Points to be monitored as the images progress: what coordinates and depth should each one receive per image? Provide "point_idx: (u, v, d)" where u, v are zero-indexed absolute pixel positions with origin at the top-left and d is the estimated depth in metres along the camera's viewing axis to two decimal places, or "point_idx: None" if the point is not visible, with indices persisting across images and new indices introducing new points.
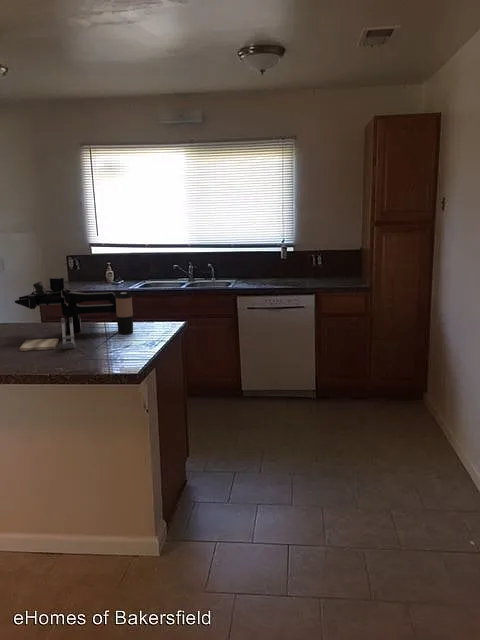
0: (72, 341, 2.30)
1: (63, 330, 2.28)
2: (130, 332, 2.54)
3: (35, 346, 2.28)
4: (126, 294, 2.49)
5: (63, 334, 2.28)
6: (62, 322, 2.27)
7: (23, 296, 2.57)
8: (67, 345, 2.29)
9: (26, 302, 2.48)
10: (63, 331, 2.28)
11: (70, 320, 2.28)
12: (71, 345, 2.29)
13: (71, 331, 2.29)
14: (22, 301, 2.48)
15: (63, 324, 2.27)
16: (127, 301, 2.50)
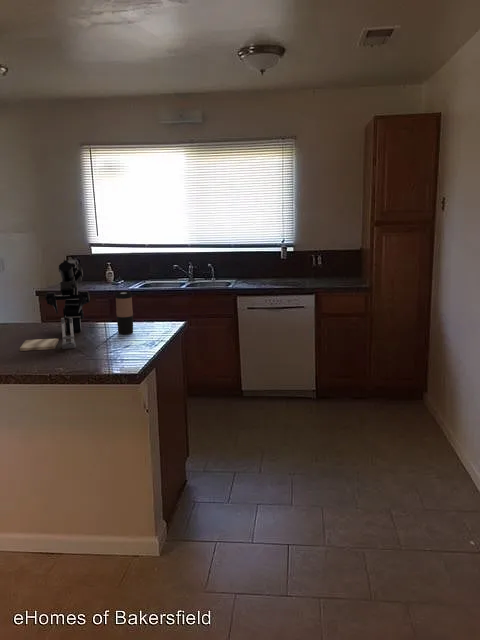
0: (72, 341, 2.30)
1: (63, 330, 2.28)
2: (130, 332, 2.54)
3: (35, 346, 2.28)
4: (126, 294, 2.49)
5: (63, 334, 2.28)
6: (62, 322, 2.27)
7: (56, 308, 2.35)
8: (67, 345, 2.29)
9: None
10: (63, 331, 2.28)
11: (70, 320, 2.28)
12: (71, 345, 2.29)
13: (71, 331, 2.29)
14: (81, 305, 2.39)
15: (63, 324, 2.28)
16: (127, 301, 2.50)
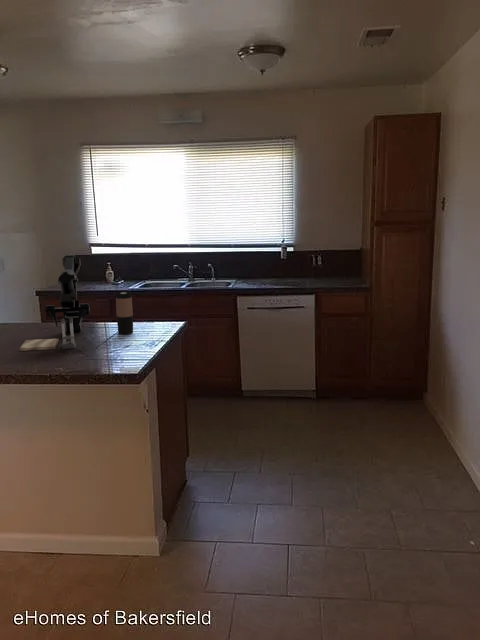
0: (72, 341, 2.30)
1: (63, 330, 2.28)
2: (130, 332, 2.54)
3: (35, 346, 2.28)
4: (126, 294, 2.49)
5: (63, 334, 2.28)
6: (62, 322, 2.27)
7: (56, 321, 2.30)
8: (67, 345, 2.29)
9: None
10: (63, 331, 2.28)
11: (70, 320, 2.28)
12: (71, 345, 2.29)
13: (71, 331, 2.29)
14: (81, 318, 2.34)
15: (63, 324, 2.28)
16: (127, 301, 2.50)
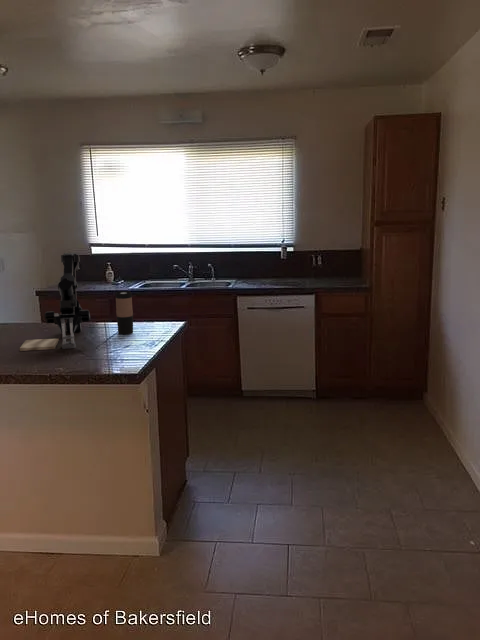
0: (72, 341, 2.30)
1: (63, 330, 2.28)
2: (130, 332, 2.54)
3: (35, 346, 2.28)
4: (126, 294, 2.49)
5: (63, 334, 2.28)
6: (62, 322, 2.27)
7: (61, 327, 2.28)
8: (67, 345, 2.29)
9: None
10: (63, 331, 2.28)
11: (70, 320, 2.28)
12: (71, 345, 2.29)
13: (71, 331, 2.29)
14: (76, 325, 2.31)
15: (63, 324, 2.27)
16: (127, 301, 2.50)
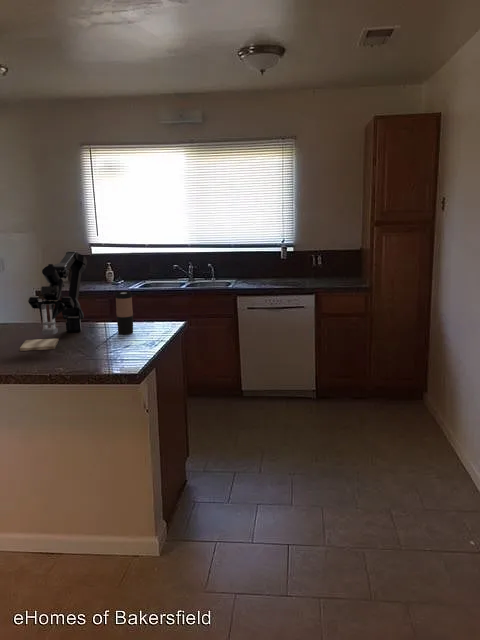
0: (52, 327, 2.29)
1: (43, 316, 2.28)
2: (130, 332, 2.54)
3: (35, 346, 2.28)
4: (126, 294, 2.49)
5: (43, 320, 2.28)
6: (42, 308, 2.27)
7: None
8: (46, 331, 2.28)
9: (58, 309, 2.31)
10: (43, 317, 2.28)
11: (50, 306, 2.27)
12: (50, 331, 2.28)
13: (51, 317, 2.28)
14: (57, 311, 2.29)
15: (43, 310, 2.27)
16: (127, 301, 2.50)
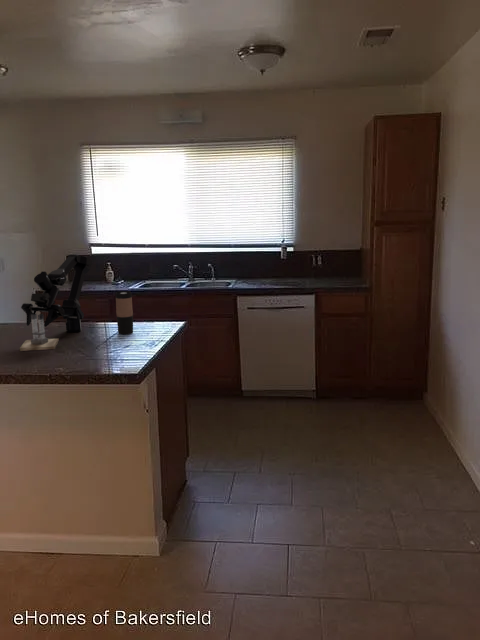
0: (41, 338, 2.31)
1: (33, 326, 2.31)
2: (130, 332, 2.54)
3: (35, 346, 2.28)
4: (126, 294, 2.49)
5: (33, 330, 2.31)
6: (32, 318, 2.30)
7: (28, 319, 2.32)
8: (35, 341, 2.31)
9: (51, 316, 2.32)
10: (33, 327, 2.31)
11: (38, 317, 2.29)
12: (38, 341, 2.31)
13: (39, 328, 2.30)
14: (50, 319, 2.31)
15: (33, 320, 2.30)
16: (127, 301, 2.50)
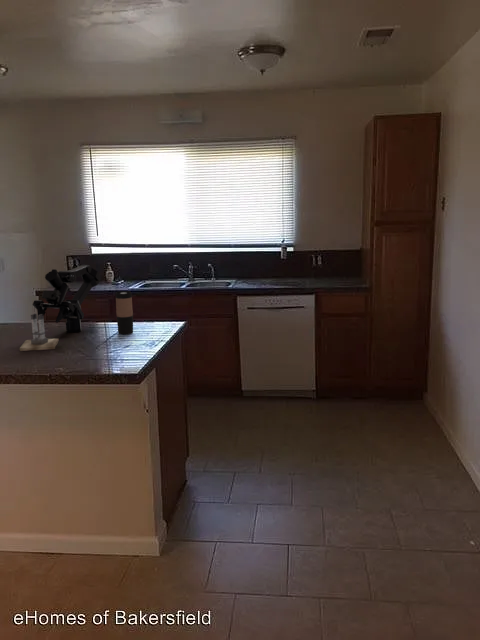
0: (41, 338, 2.31)
1: (33, 326, 2.31)
2: (130, 332, 2.54)
3: (35, 346, 2.28)
4: (126, 294, 2.49)
5: (33, 330, 2.31)
6: (32, 318, 2.30)
7: None
8: (35, 341, 2.31)
9: (63, 313, 2.40)
10: (33, 327, 2.31)
11: (38, 317, 2.29)
12: (38, 341, 2.31)
13: (39, 328, 2.30)
14: (61, 315, 2.39)
15: (33, 320, 2.30)
16: (127, 301, 2.50)
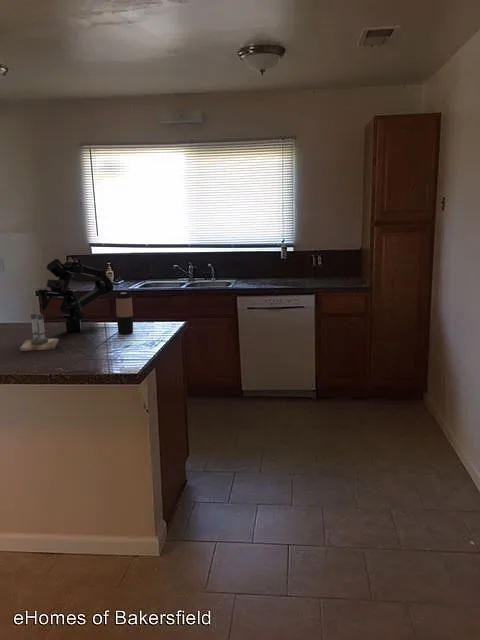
0: (41, 338, 2.31)
1: (33, 326, 2.31)
2: (130, 332, 2.54)
3: (35, 346, 2.28)
4: (126, 294, 2.49)
5: (33, 330, 2.31)
6: (32, 318, 2.30)
7: (43, 304, 2.44)
8: (35, 341, 2.31)
9: (67, 301, 2.44)
10: (33, 327, 2.31)
11: (38, 317, 2.29)
12: (38, 341, 2.31)
13: (39, 328, 2.30)
14: (65, 303, 2.43)
15: (33, 320, 2.30)
16: (127, 301, 2.50)
